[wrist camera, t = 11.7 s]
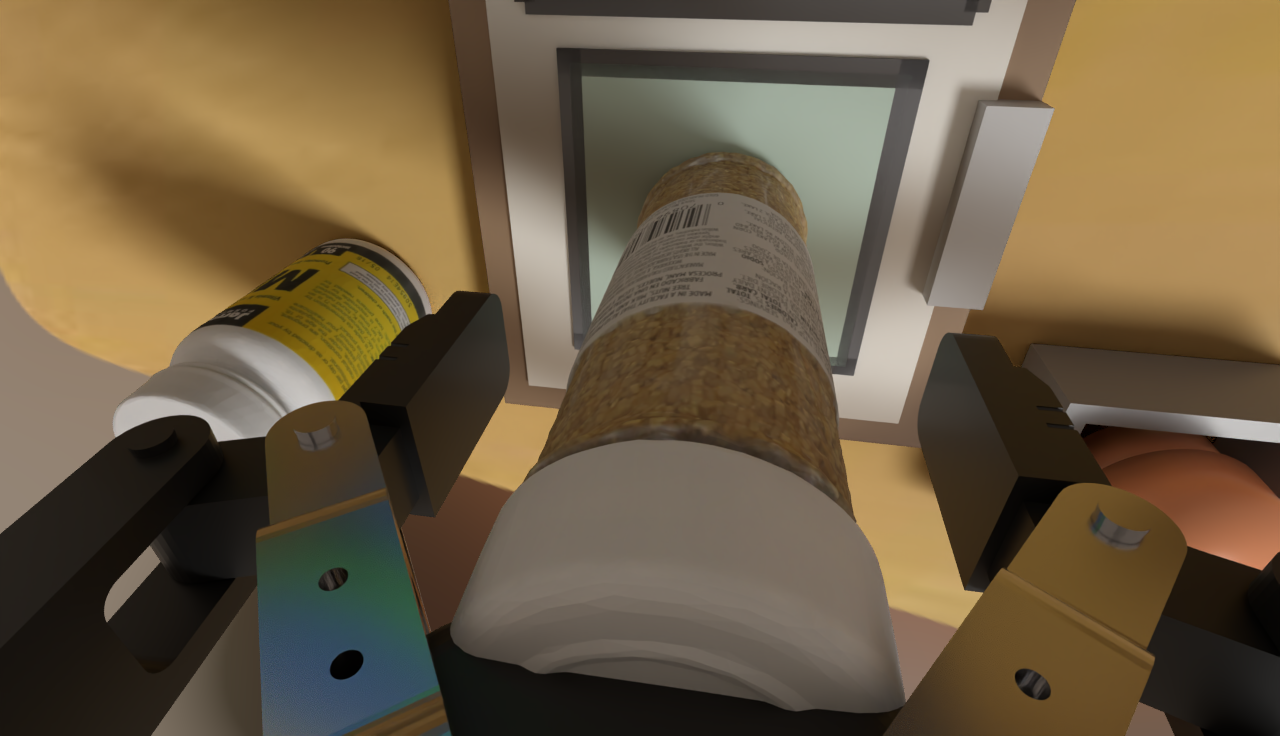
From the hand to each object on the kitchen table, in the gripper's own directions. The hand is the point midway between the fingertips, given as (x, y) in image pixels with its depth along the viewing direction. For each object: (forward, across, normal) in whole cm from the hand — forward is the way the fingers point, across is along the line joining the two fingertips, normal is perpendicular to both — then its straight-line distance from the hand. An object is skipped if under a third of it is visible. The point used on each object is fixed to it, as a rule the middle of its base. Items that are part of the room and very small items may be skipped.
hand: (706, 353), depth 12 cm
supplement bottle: (+8, +12, +4) cm, 15 cm away
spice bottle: (+7, 0, 0) cm, 7 cm away
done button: (+6, -13, +7) cm, 16 cm away
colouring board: (+8, 0, -1) cm, 8 cm away
